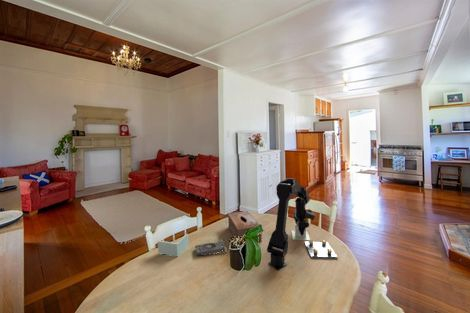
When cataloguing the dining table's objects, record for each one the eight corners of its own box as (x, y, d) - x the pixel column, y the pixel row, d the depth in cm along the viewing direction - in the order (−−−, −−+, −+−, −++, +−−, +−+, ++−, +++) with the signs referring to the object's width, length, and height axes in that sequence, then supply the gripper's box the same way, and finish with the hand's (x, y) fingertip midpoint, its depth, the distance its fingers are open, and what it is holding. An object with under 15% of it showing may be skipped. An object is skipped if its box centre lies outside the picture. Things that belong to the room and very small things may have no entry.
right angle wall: (188, 246, 126) (188, 233, 125) (177, 257, 114) (176, 244, 114) (171, 243, 129) (170, 231, 128) (158, 254, 118) (157, 241, 117)
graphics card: (222, 237, 128) (227, 246, 117) (223, 243, 129) (227, 253, 117) (194, 241, 124) (195, 252, 113) (194, 248, 125) (196, 259, 113)
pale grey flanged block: (310, 241, 126) (310, 232, 126) (292, 240, 128) (292, 231, 128) (307, 232, 138) (307, 223, 138) (291, 231, 140) (291, 222, 139)
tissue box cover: (261, 241, 128) (261, 225, 127) (238, 245, 124) (237, 229, 123) (248, 224, 153) (248, 211, 152) (228, 227, 149) (228, 213, 148)
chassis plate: (337, 258, 108) (337, 253, 108) (311, 258, 109) (311, 252, 109) (327, 243, 123) (327, 238, 123) (304, 243, 124) (304, 238, 124)
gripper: (318, 213, 121) (318, 239, 123) (310, 202, 140) (309, 225, 141) (298, 213, 122) (298, 239, 124) (292, 202, 141) (292, 225, 142)
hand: (300, 231), depth 133 cm, fingers open, 9 cm apart
